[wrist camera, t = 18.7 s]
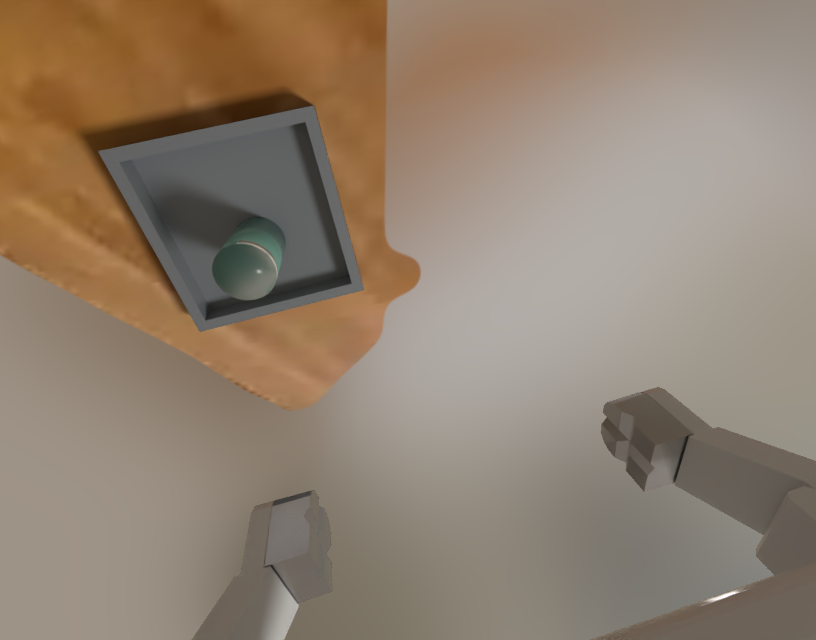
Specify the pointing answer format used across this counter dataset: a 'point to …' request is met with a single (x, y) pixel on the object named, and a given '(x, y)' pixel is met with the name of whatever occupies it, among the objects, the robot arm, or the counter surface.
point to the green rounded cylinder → (250, 259)
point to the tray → (240, 209)
